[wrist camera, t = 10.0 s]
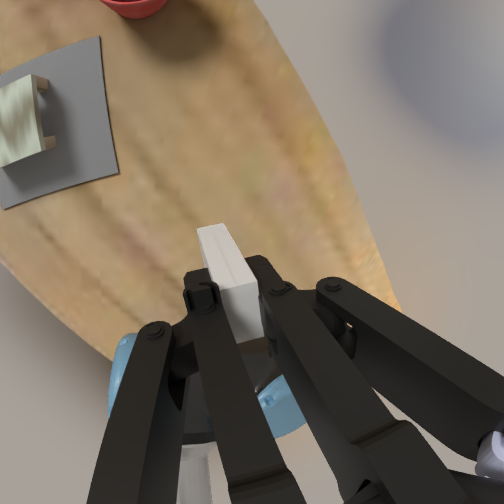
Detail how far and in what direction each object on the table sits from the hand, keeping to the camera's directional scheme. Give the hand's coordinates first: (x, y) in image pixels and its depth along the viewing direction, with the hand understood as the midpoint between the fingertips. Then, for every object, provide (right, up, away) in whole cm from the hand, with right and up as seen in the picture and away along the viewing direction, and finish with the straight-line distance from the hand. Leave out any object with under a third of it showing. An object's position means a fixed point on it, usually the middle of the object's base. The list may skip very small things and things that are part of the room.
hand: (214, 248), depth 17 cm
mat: (-26, +17, +14) cm, 35 cm away
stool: (-24, +17, +11) cm, 31 cm away
